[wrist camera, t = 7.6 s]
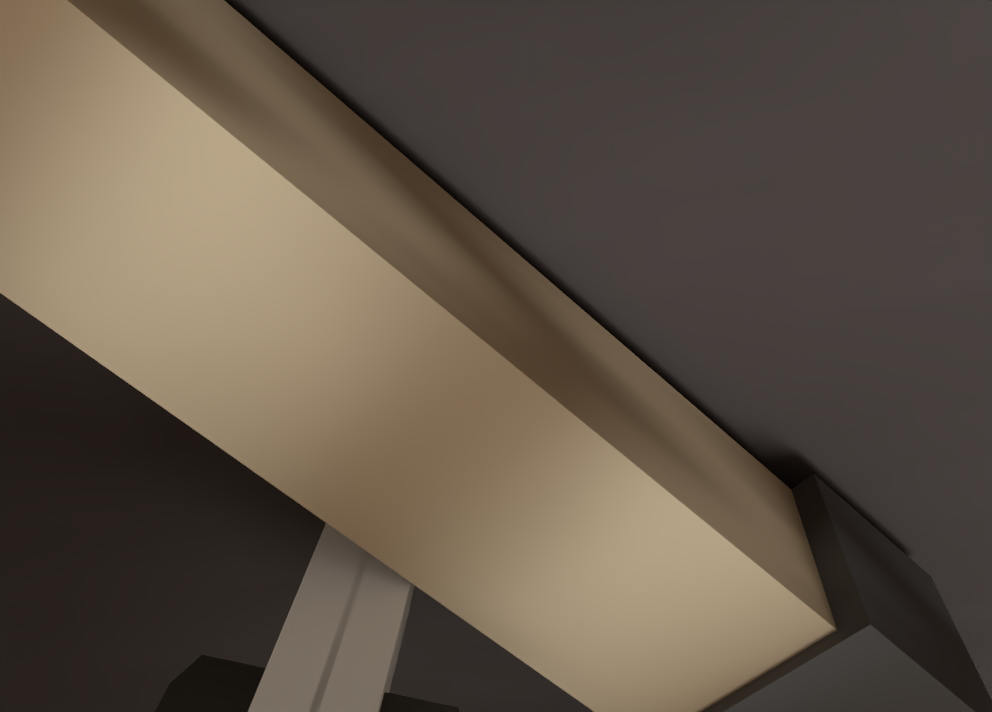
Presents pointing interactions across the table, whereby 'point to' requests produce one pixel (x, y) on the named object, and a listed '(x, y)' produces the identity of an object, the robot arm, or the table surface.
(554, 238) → the table surface
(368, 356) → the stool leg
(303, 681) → the robot arm
